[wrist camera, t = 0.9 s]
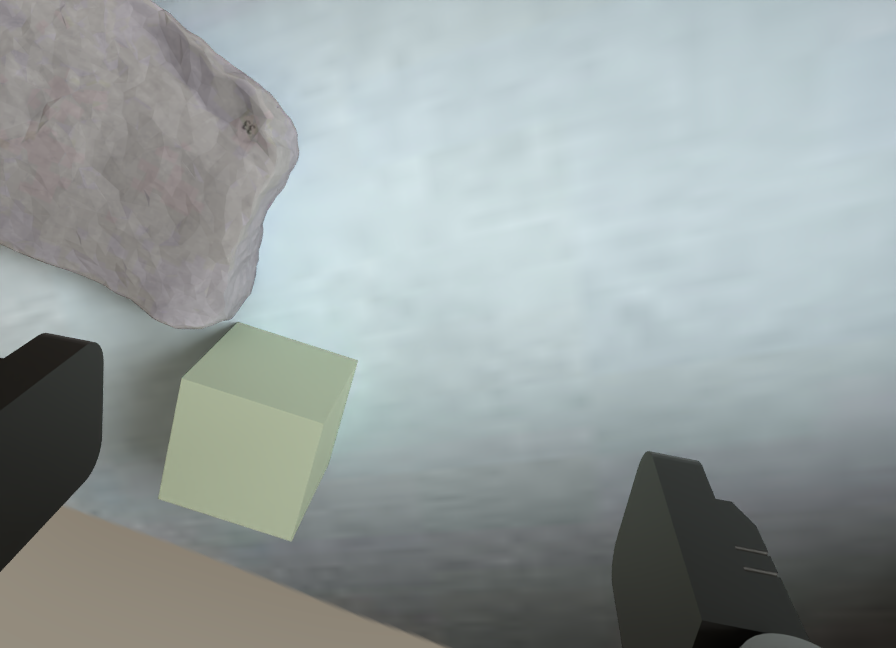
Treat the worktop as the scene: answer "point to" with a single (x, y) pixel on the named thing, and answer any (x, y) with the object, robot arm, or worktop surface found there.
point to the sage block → (256, 429)
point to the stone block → (136, 155)
